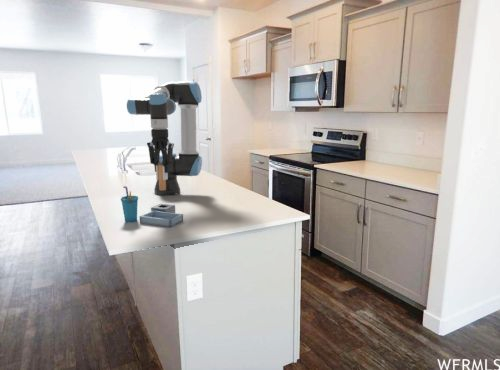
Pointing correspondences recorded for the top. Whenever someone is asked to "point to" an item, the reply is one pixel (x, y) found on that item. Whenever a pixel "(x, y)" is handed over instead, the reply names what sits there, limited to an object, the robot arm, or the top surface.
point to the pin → (161, 177)
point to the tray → (161, 218)
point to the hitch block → (164, 208)
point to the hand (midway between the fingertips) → (162, 179)
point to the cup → (129, 206)
